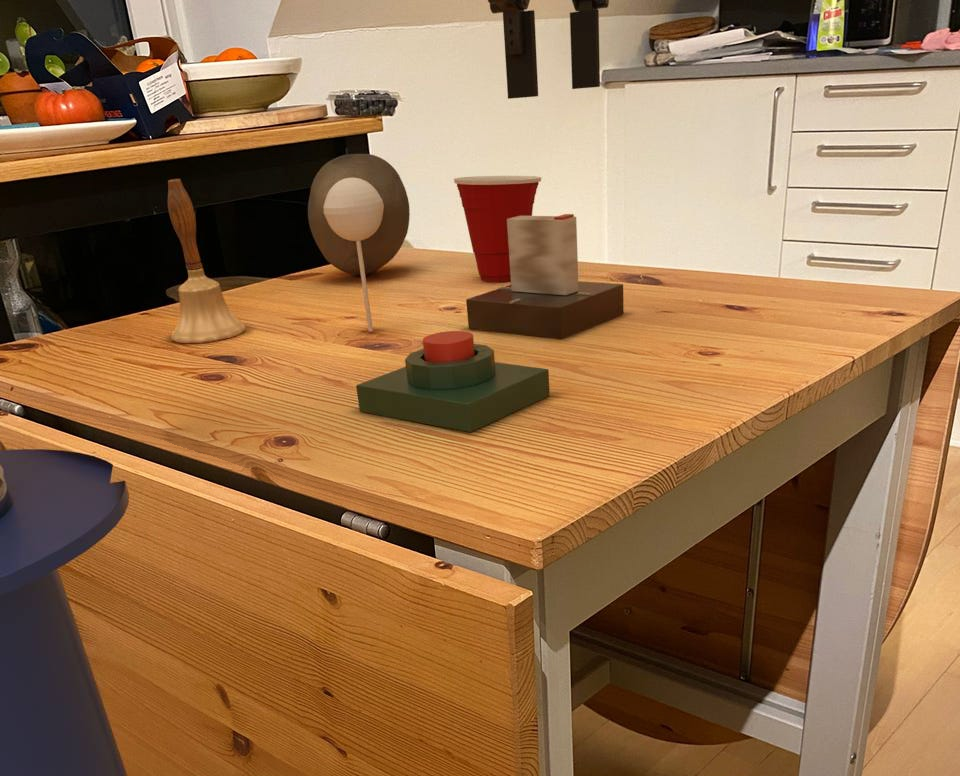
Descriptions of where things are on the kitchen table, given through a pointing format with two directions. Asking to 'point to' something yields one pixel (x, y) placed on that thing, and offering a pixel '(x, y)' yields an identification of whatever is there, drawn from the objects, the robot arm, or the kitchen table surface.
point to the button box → (454, 390)
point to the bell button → (448, 346)
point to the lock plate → (545, 310)
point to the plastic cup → (494, 217)
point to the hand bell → (197, 282)
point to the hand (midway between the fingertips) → (556, 93)
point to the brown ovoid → (393, 220)
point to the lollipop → (355, 218)
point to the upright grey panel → (543, 254)
